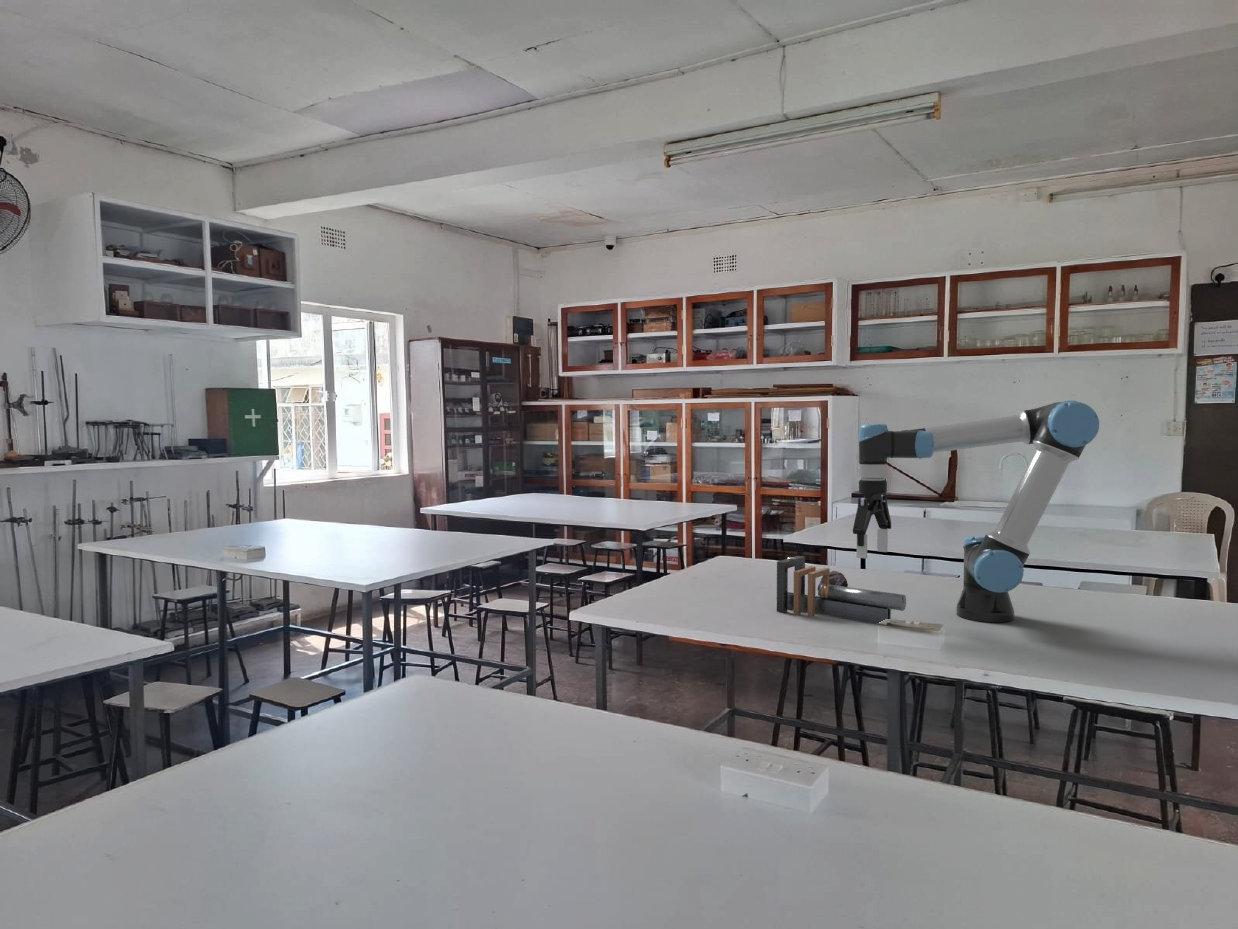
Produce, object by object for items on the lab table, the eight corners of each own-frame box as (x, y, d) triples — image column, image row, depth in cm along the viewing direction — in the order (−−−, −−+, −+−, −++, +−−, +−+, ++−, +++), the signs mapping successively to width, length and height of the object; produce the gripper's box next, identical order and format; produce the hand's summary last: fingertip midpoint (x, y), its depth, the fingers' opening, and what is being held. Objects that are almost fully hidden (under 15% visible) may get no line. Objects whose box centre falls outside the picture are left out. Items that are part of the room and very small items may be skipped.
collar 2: (829, 609, 237) (829, 568, 236) (812, 616, 229) (812, 573, 228) (824, 609, 238) (824, 567, 237) (807, 616, 230) (807, 573, 229)
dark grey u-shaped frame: (804, 605, 243) (805, 555, 242) (784, 613, 233) (784, 561, 232) (797, 604, 245) (797, 554, 244) (776, 611, 235) (776, 560, 234)
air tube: (906, 609, 219) (906, 593, 218) (900, 612, 215) (900, 596, 215) (825, 597, 234) (825, 582, 234) (818, 600, 231) (818, 585, 230)
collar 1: (815, 607, 240) (815, 566, 239) (798, 614, 231) (798, 572, 231) (810, 606, 241) (811, 566, 240) (793, 613, 232) (793, 571, 232)
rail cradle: (890, 623, 221) (890, 607, 221) (886, 625, 219) (886, 609, 218) (787, 606, 241) (787, 592, 241) (782, 608, 239) (782, 593, 239)
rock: (813, 606, 247) (846, 608, 243) (811, 580, 246) (845, 582, 241) (820, 593, 258) (852, 595, 253) (819, 568, 256) (851, 569, 252)
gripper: (878, 476, 233) (877, 547, 234) (840, 481, 215) (839, 559, 216) (903, 477, 228) (902, 550, 229) (866, 482, 210) (866, 562, 211)
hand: (872, 554), depth 222 cm, fingers open, 13 cm apart
